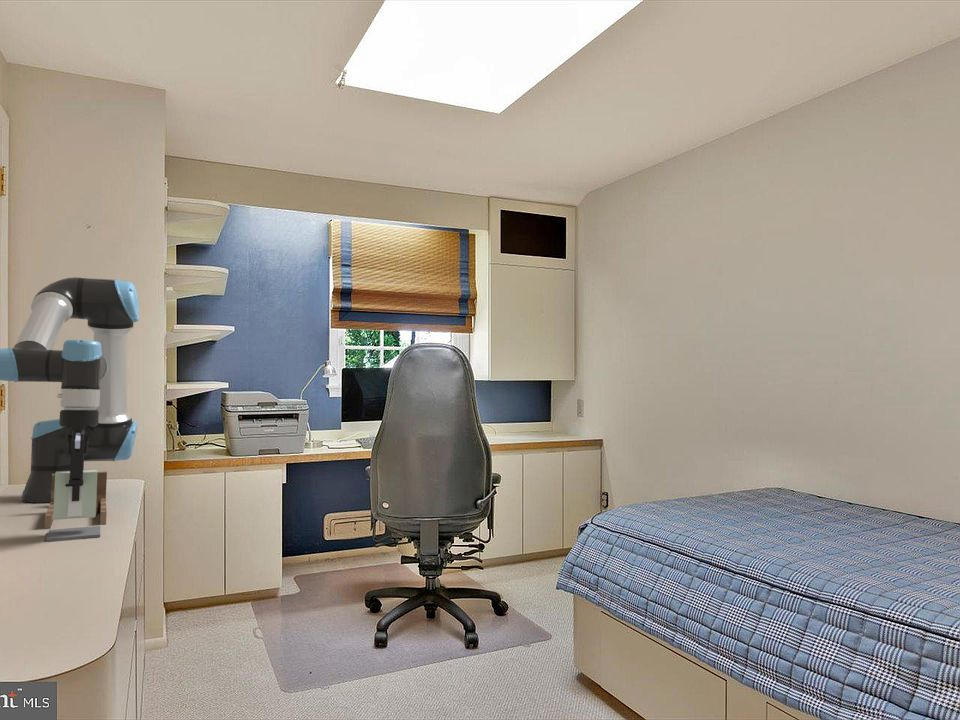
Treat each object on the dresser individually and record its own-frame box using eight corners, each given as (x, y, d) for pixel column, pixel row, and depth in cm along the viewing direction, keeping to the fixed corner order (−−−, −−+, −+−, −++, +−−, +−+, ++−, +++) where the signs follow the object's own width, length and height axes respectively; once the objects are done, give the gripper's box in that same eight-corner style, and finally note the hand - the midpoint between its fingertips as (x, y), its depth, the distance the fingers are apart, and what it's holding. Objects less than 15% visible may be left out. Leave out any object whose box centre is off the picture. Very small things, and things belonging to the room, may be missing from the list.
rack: (50, 512, 173) (52, 473, 173) (105, 509, 179) (106, 471, 179) (44, 528, 154) (46, 485, 154) (106, 524, 160) (107, 482, 161)
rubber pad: (49, 532, 150) (49, 529, 150) (100, 528, 155) (100, 525, 155) (46, 541, 142) (46, 538, 142) (100, 537, 147) (100, 534, 147)
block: (54, 516, 148) (56, 471, 149) (95, 513, 152) (97, 469, 153) (53, 519, 145) (55, 473, 145) (95, 516, 149) (97, 471, 149)
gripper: (61, 407, 155) (57, 509, 154) (57, 409, 140) (52, 522, 139) (99, 407, 159) (94, 506, 158) (98, 409, 144) (94, 519, 143)
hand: (75, 513), depth 149 cm, fingers closed on block, 4 cm apart
